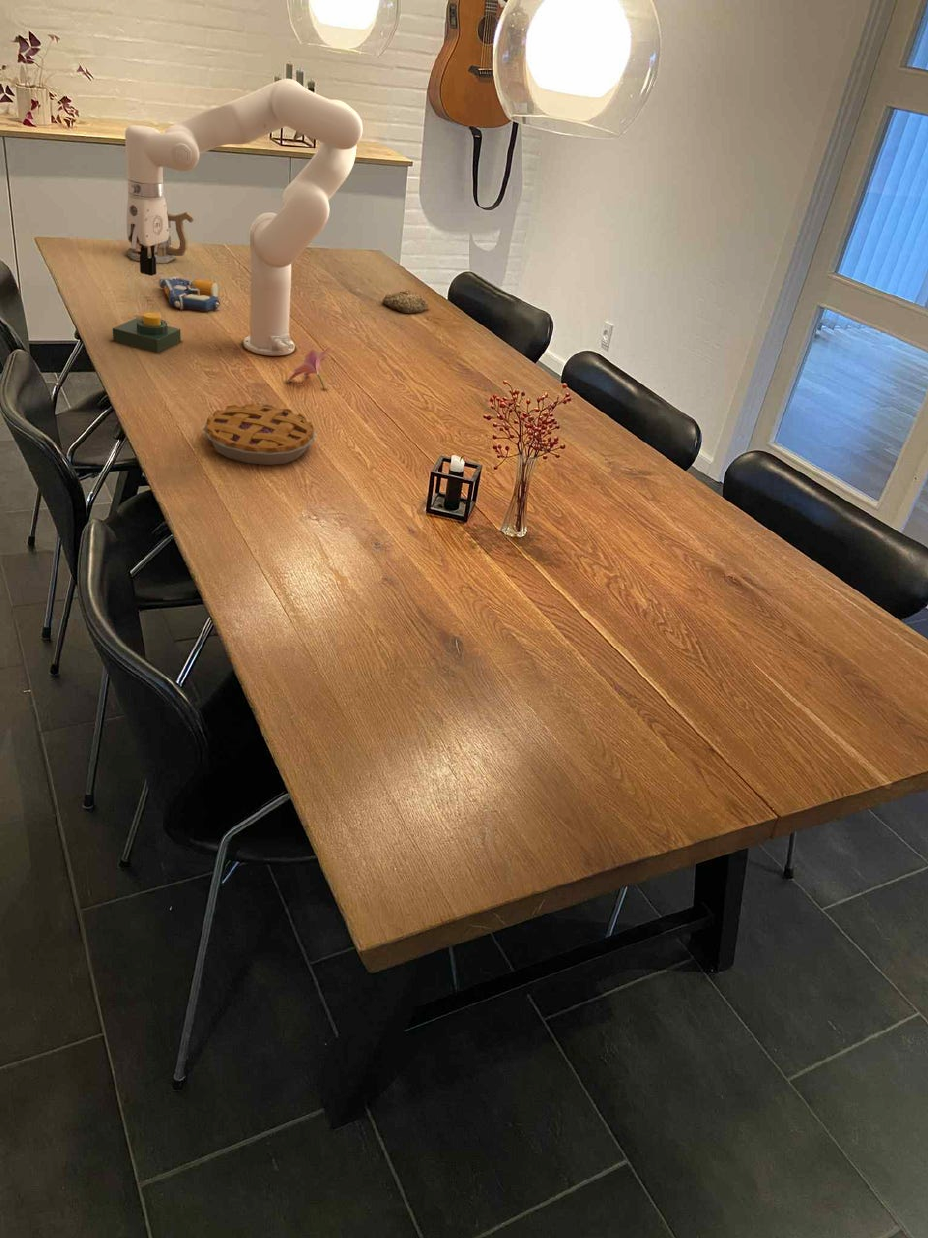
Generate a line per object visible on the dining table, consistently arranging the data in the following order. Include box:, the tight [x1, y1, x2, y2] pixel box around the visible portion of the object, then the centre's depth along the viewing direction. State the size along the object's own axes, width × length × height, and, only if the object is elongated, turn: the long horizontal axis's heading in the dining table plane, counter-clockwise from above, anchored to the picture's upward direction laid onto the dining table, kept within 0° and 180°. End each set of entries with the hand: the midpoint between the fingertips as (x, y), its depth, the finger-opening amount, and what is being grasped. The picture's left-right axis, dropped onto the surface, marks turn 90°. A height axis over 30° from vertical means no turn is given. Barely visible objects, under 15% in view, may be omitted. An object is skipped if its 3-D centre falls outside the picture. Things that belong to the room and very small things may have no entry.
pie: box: [203, 403, 316, 466], centre depth 186 cm, size 22×22×5 cm
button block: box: [112, 317, 182, 354], centre depth 223 cm, size 12×10×5 cm
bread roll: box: [382, 290, 429, 314], centre depth 276 cm, size 13×12×5 cm
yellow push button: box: [142, 312, 162, 326], centre depth 221 cm, size 4×4×2 cm
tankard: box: [126, 210, 195, 264], centre depth 276 cm, size 20×13×15 cm, turn 81°
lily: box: [286, 346, 332, 390], centre depth 215 cm, size 12×12×10 cm
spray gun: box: [158, 275, 221, 312], centre depth 253 cm, size 21×4×15 cm
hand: (148, 273), depth 215 cm, fingers closed
